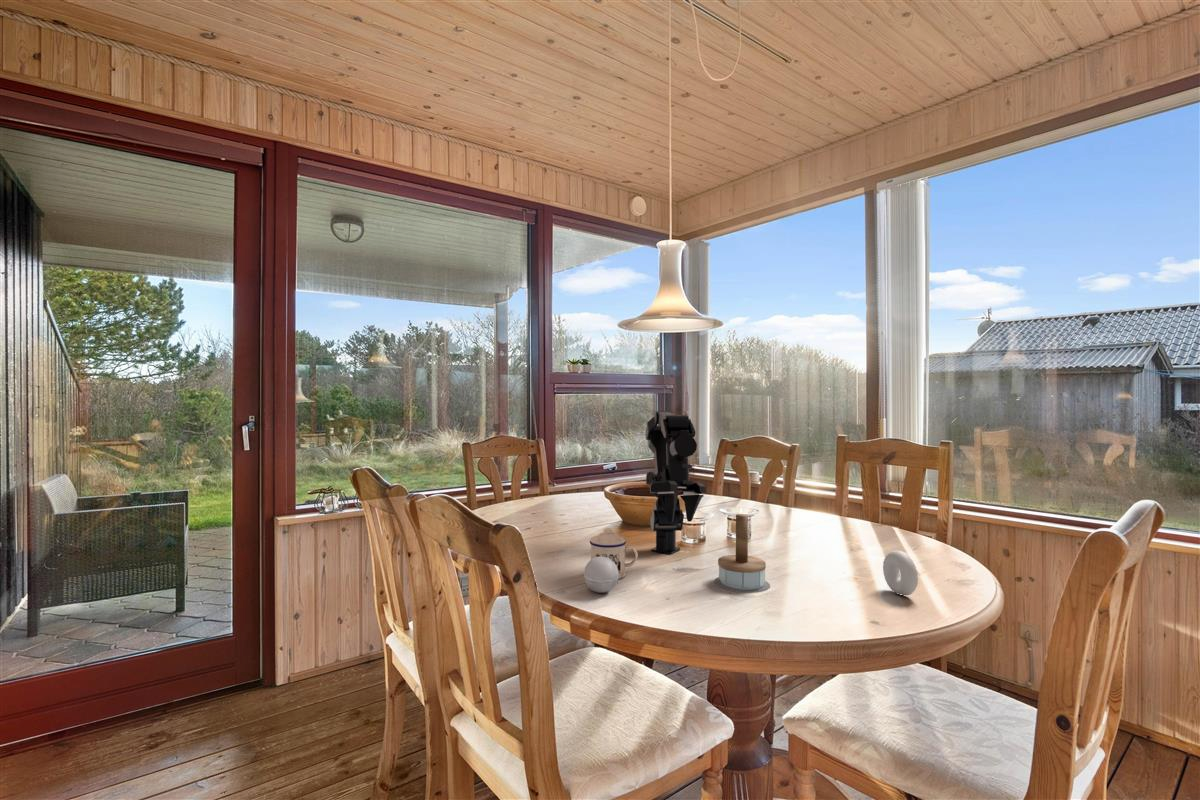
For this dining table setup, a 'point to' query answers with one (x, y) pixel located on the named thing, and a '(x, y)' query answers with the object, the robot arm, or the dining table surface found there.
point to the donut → (907, 569)
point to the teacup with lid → (612, 549)
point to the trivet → (764, 588)
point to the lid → (741, 551)
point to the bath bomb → (601, 574)
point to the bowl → (742, 579)
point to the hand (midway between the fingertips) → (680, 521)
